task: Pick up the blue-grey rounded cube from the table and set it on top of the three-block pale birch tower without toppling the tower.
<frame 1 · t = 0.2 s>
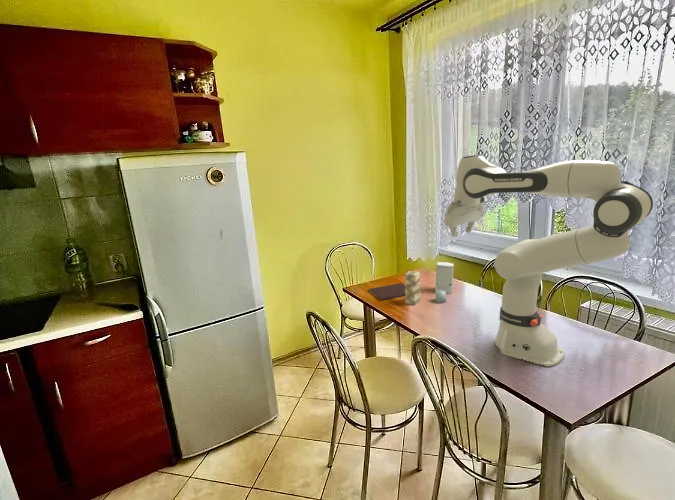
hand: (461, 234, 144), 39 cm above the table, tool pointing down, fingers open, 8 cm apart
tower top: (412, 283, 176), point 10 cm above the table, touching tower mid
skincare box: (444, 291, 190), on the table
tower base: (412, 302, 179), on the table, touching tower mid
blue-grey rounded cube: (440, 301, 178), on the table
notebook: (391, 293, 192), on the table
tower mid: (412, 292, 177), point 5 cm above the table, touching tower base, tower top
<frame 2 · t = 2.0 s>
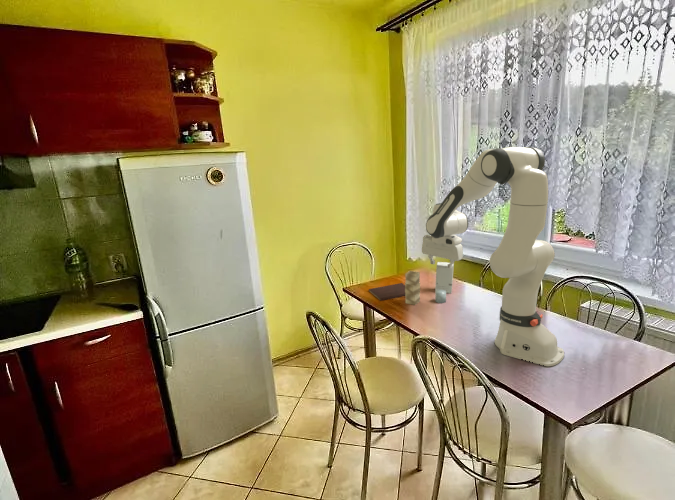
hand: (441, 265, 174), 18 cm above the table, tool pointing down, fingers open, 8 cm apart
nothing on the table moved.
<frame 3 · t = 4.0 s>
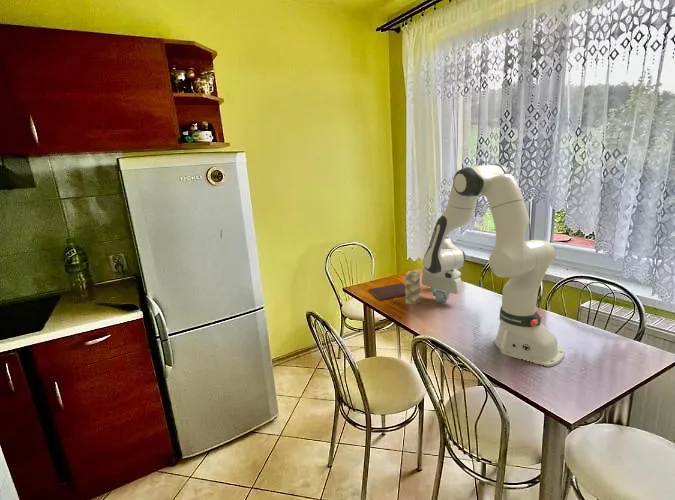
hand: (440, 297, 178), 2 cm above the table, tool pointing down, fingers closed on blue-grey rounded cube, 5 cm apart
blue-grey rounded cube: (440, 301, 178), on the table, touching gripper
everything else where it was.
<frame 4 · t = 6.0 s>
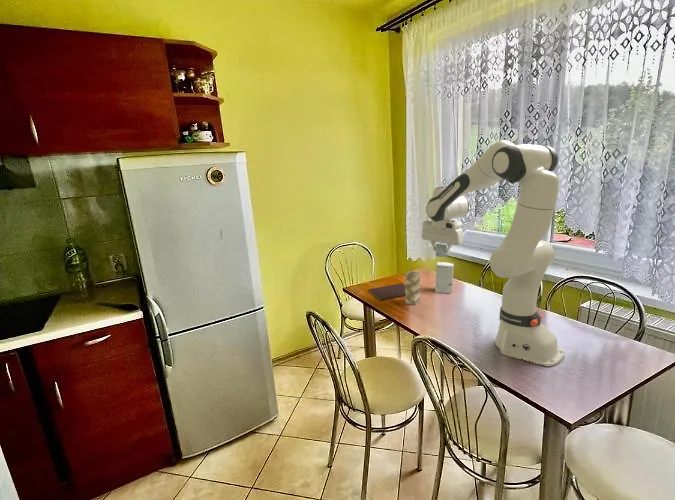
hand: (441, 251, 172), 25 cm above the table, tool pointing down, fingers closed on blue-grey rounded cube, 5 cm apart
blue-grey rounded cube: (441, 255, 172), point 23 cm above the table, touching gripper
everything else where it was.
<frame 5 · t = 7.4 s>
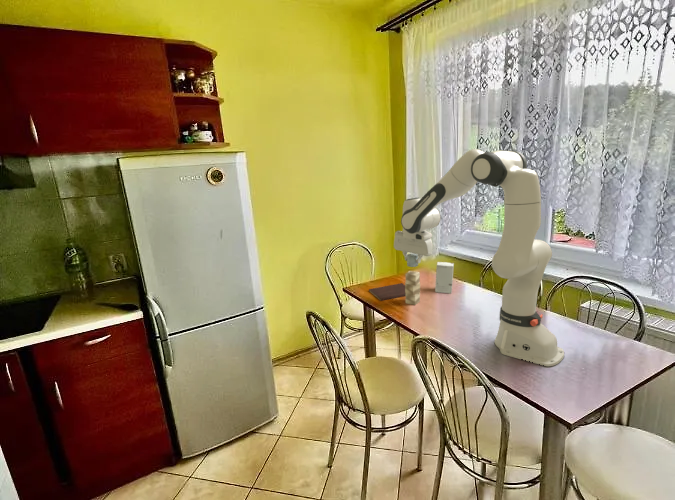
hand: (412, 261, 173), 21 cm above the table, tool pointing down, fingers closed on blue-grey rounded cube, 5 cm apart
blue-grey rounded cube: (412, 265, 174), point 19 cm above the table, touching gripper
everything else where it was.
when the fingers open (18 cm above the table, at t = 8.4 s): blue-grey rounded cube stays where it is, resting on tower top.
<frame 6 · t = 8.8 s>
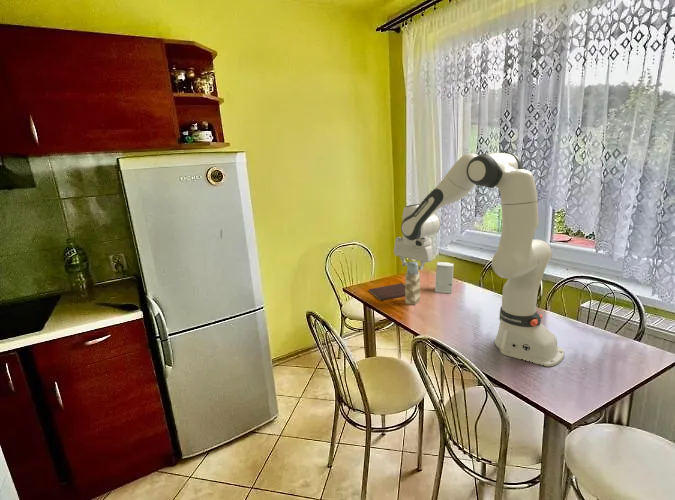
hand: (412, 267, 174), 18 cm above the table, tool pointing down, fingers open, 8 cm apart
tower top: (412, 283, 176), point 10 cm above the table, touching blue-grey rounded cube, tower mid
blue-grey rounded cube: (412, 273, 175), point 15 cm above the table, touching tower top
everything else where it was.
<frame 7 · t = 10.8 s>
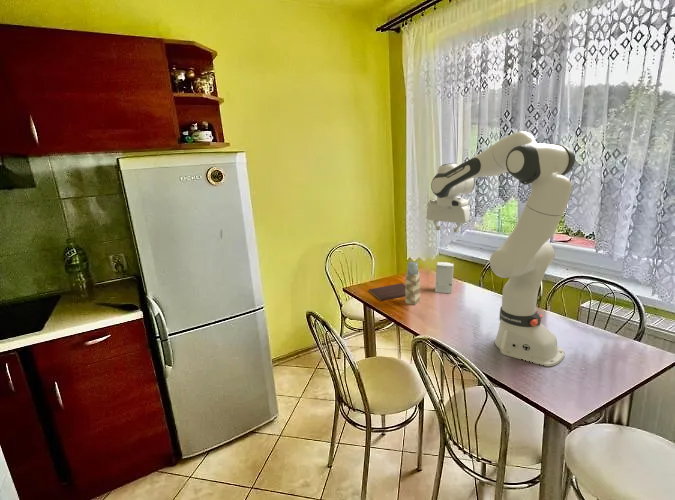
hand: (447, 231, 168), 35 cm above the table, tool pointing down, fingers open, 8 cm apart
nothing on the table moved.
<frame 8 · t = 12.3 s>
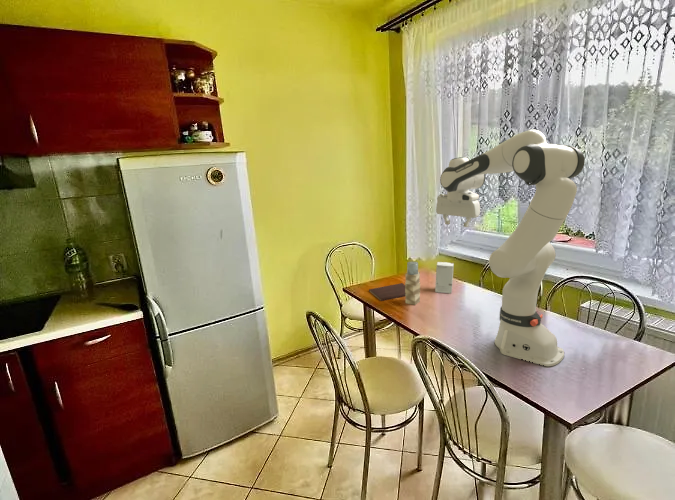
hand: (456, 225, 167), 37 cm above the table, tool pointing down, fingers open, 8 cm apart
nothing on the table moved.
at the end: blue-grey rounded cube 0.0 cm off-centre on the tower top, point 5.0 cm above the tower top's base; tower top point 9.9 cm above the table; tower top tilted 0° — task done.
